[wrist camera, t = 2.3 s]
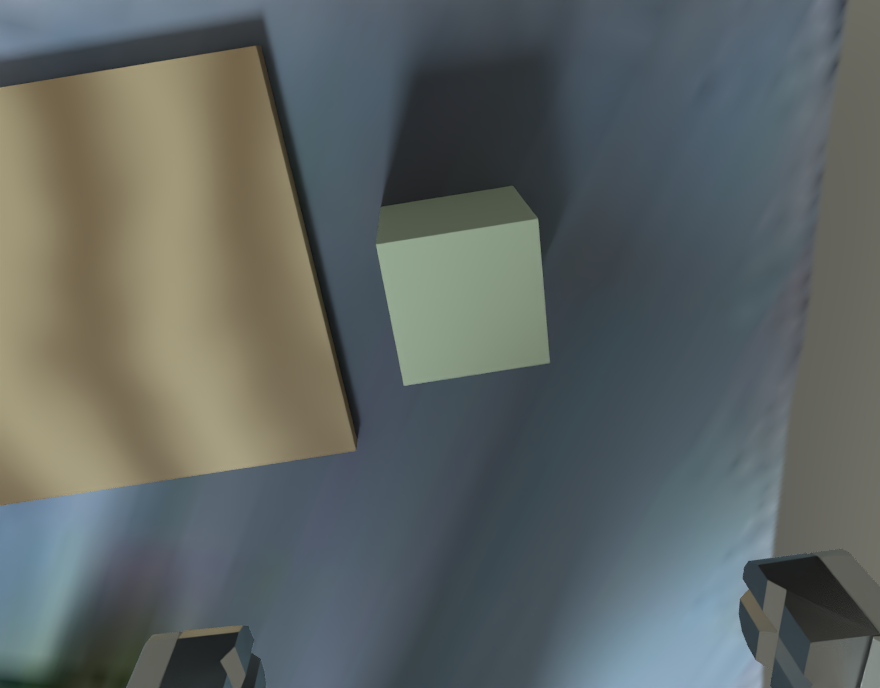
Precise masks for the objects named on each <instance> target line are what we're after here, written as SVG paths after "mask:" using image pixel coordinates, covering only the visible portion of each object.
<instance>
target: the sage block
mask: <svg viewBox="0 0 880 688" xmlns="http://www.w3.org/2000/svg"><path fill="white" fill-rule="evenodd" d="M376 247H377V252H378V257H379V262H380V267H381V272H382V277H383V283H384V288H385V293H386V298H387V303H388V308H389V313H390V318H391V323H392V328H393V333H394V338H395V343H396V348H397V353H398V358H399V363H400V369H401V374H402V379H403V384H404V386H406V385H412V384H418V383H425V382H431V381H438V380H444V379H451V378H457V377H463V376H470V375H476V374H483V373H489V372H496V371H502V370H508V369H515V368H521V367H528V366H534V365H540V364H547V363H550V357H549V345H548V333H547V321H546V308H545V296H544V284H543V272H542V259H541V247H540V235H539V223H538V218H537V217H536V215H535V214H534V213H533V211H532V210H531V209H530V207H529V206H528V205H527V203H526V202H525V201H524V200H523V198H522V197H521V196H520V194H519V193H518V192H517V190H516V189H515V188H514V186H508V187H501V188H495V189H489V190H483V191H476V192H470V193H464V194H458V195H451V196H445V197H439V198H433V199H426V200H420V201H414V202H408V203H401V204H395V205H389V206H383V207H381V210H380V217H379V225H378V233H377V241H376Z"/></svg>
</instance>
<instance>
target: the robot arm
mask: <svg viewBox="0 0 880 688" xmlns="http://www.w3.org/2000/svg"><path fill="white" fill-rule="evenodd" d="M743 580H744V582H745V583H746V585H747V587H748V588H749V590H748V591H747V592H746V593H745V594H744V595H743V596H742V597H741V598H740V605H739V618H740V623H741V628H742V632H743V635H744V637H745V640H746V643H747V645H748V647H749V649H750V651H751V652H752V654H753V656H754V658H755V660H757V661H758V662H760V663H761V664H763V665H764V666H766V667H767V668H769V669H770V670H772V677H771V684H770V686H771V688H880V587H879V585H878V584H877V583H876V582H875V581H874V580H873V578H872V577H871V576H870V575H869V574H868V573H867V572H866V571H865V570H864V568H863V567H862V566H861V565H860V564H859V563H858V562H857V560H855V558H854V557H853V556H852V555H851V554H850V553H849V552H847V551H845V550H843V549H837V550H829V551H821V552H813V553H810V554H807V553H804V554H797V555H790V556H782V557H775V558H767V559H760V560H753V561H748V563H747V564H746V565H745V567H744V573H743ZM253 643H254V638H253V636H252V633H251V630H250V628H249V626H247V625H239V626H229V627H219V628H209V629H199V630H188V631H182V632H173V633H163V634H154V635H152V637H151V638H150V639H149V640H148V641H147V642H146V643H145V645H144V647H143V650H142V652H141V654H140V657H139V659H138V662H137V664H136V666H135V669H134V671H133V673H132V676H131V678H130V680H129V683H128V685H127V687H126V688H266V679H265V672H264V667H263V664H262V661H261V659H260V658H259V657H257V656H256V655H254V654H253V653H251V651H252V647H253Z"/></svg>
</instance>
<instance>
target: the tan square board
mask: <svg viewBox="0 0 880 688" xmlns="http://www.w3.org/2000/svg"><path fill="white" fill-rule="evenodd" d="M356 447H357V437H356V433H355V429H354V425H353V421H352V417H351V413H350V409H349V404H348V400H347V396H346V392H345V388H344V384H343V380H342V376H341V372H340V368H339V363H338V359H337V355H336V351H335V347H334V343H333V339H332V335H331V331H330V327H329V323H328V318H327V314H326V310H325V306H324V302H323V298H322V294H321V290H320V286H319V282H318V278H317V273H316V269H315V265H314V261H313V257H312V253H311V249H310V245H309V241H308V237H307V233H306V228H305V224H304V220H303V216H302V212H301V208H300V204H299V200H298V196H297V192H296V188H295V183H294V179H293V175H292V171H291V167H290V163H289V159H288V155H287V151H286V147H285V143H284V138H283V134H282V130H281V126H280V122H279V118H278V114H277V110H276V106H275V102H274V97H273V93H272V89H271V85H270V81H269V77H268V73H267V69H266V65H265V61H264V57H263V52H262V48H261V45H259V46H250V47H244V48H238V49H232V50H226V51H220V52H214V53H208V54H202V55H196V56H190V57H183V58H177V59H171V60H165V61H159V62H153V63H147V64H141V65H135V66H129V67H123V68H116V69H110V70H104V71H98V72H92V73H86V74H80V75H74V76H68V77H62V78H56V79H49V80H43V81H37V82H31V83H25V84H19V85H13V86H7V87H1V88H0V505H7V504H13V503H20V502H26V501H33V500H39V499H46V498H52V497H59V496H65V495H72V494H78V493H85V492H91V491H98V490H104V489H111V488H117V487H124V486H130V485H137V484H143V483H150V482H156V481H163V480H169V479H176V478H182V477H189V476H195V475H202V474H208V473H215V472H221V471H228V470H234V469H241V468H247V467H254V466H260V465H267V464H273V463H280V462H286V461H293V460H299V459H306V458H312V457H319V456H325V455H332V454H338V453H345V452H351V451H356Z"/></svg>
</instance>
